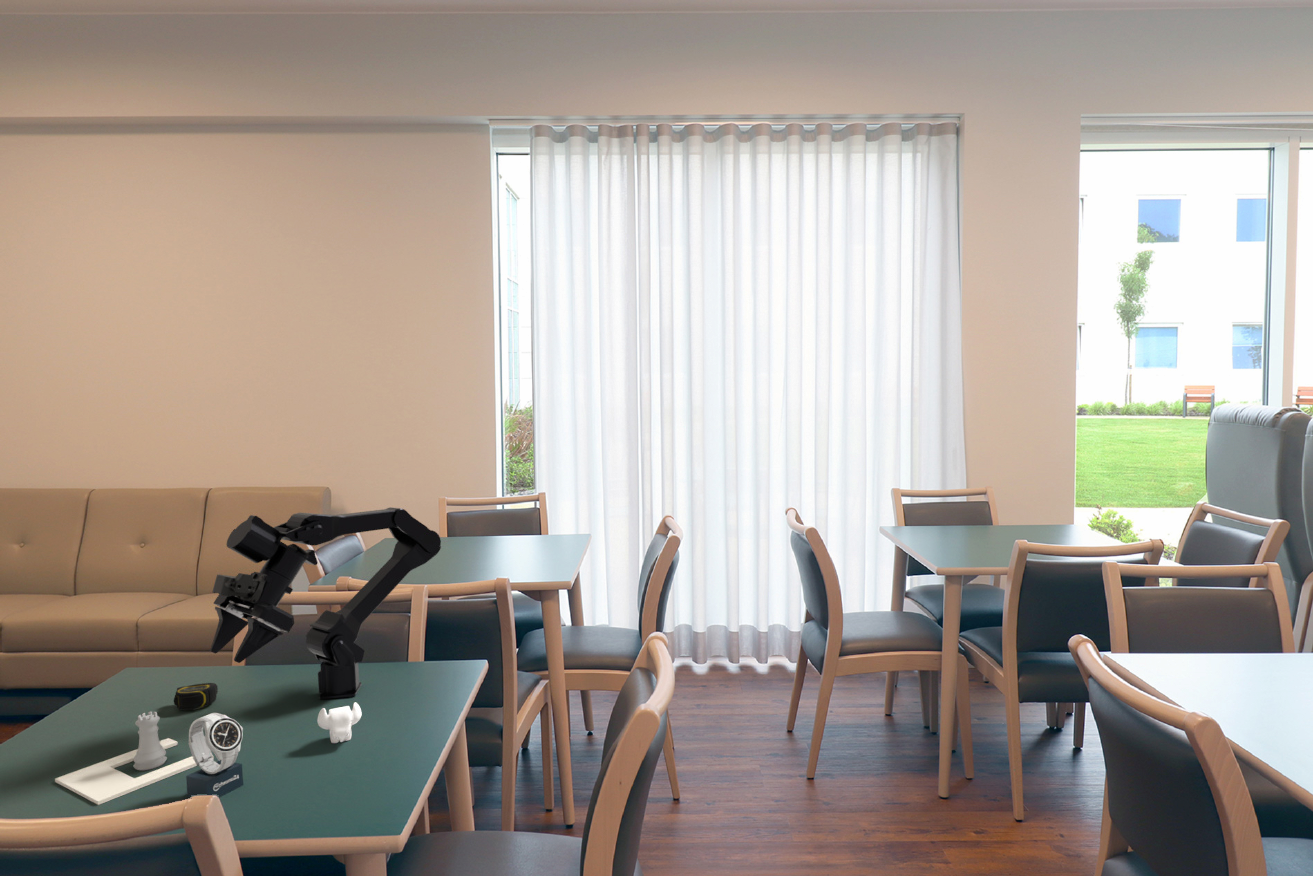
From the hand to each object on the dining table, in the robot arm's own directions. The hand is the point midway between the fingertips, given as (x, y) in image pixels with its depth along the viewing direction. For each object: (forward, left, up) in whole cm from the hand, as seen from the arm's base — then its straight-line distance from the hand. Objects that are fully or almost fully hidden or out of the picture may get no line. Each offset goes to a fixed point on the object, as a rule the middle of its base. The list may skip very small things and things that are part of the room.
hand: (224, 657), depth 134 cm
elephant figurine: (-20, +9, -13) cm, 26 cm away
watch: (-6, +23, -13) cm, 27 cm away
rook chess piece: (+7, +12, -13) cm, 19 cm away
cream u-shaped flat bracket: (+9, +13, -13) cm, 20 cm away
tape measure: (+11, -14, -13) cm, 22 cm away
